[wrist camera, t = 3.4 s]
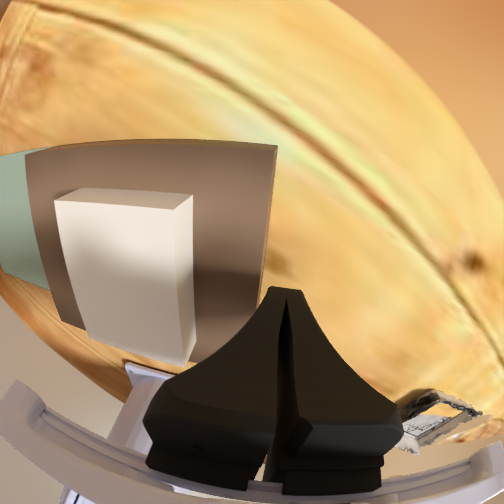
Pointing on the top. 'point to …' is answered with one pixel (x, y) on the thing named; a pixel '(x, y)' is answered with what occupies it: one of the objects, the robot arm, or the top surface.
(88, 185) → the plate
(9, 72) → the top surface
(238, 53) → the top surface
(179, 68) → the top surface
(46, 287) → the sage mat
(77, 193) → the plate
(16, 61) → the top surface
